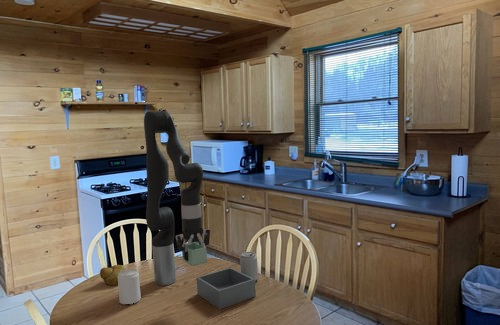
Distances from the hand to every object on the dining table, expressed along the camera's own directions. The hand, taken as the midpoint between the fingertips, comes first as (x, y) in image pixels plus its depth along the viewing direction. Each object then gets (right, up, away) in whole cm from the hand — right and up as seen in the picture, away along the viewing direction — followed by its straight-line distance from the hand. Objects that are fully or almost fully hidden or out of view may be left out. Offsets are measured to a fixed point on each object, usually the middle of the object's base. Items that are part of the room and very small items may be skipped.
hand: (194, 258), depth 153 cm
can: (+21, -15, +21) cm, 34 cm away
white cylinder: (-26, -19, +6) cm, 33 cm away
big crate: (+12, -16, +7) cm, 21 cm away
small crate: (0, -1, 0) cm, 1 cm away
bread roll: (-39, -17, +27) cm, 51 cm away
